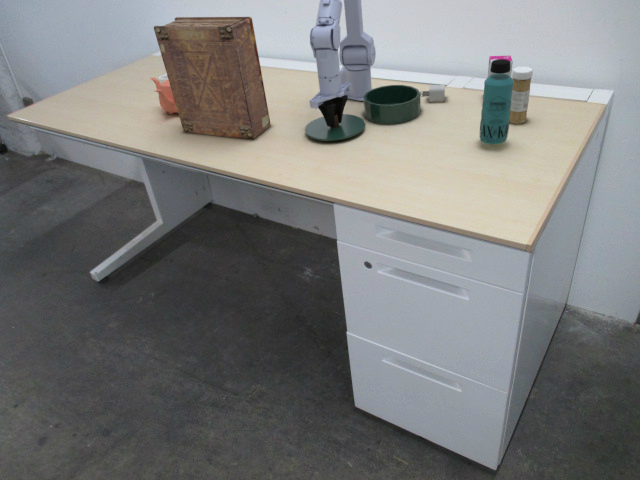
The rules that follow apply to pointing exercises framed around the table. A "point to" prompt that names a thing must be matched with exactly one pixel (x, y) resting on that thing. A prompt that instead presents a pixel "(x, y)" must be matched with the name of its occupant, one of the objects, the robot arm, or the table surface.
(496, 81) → the beverage bottle
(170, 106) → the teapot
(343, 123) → the lid
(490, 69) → the supplement box
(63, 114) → the table surface
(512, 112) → the sprinkles bottle
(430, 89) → the usb wall charger
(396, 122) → the pot
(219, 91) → the book
